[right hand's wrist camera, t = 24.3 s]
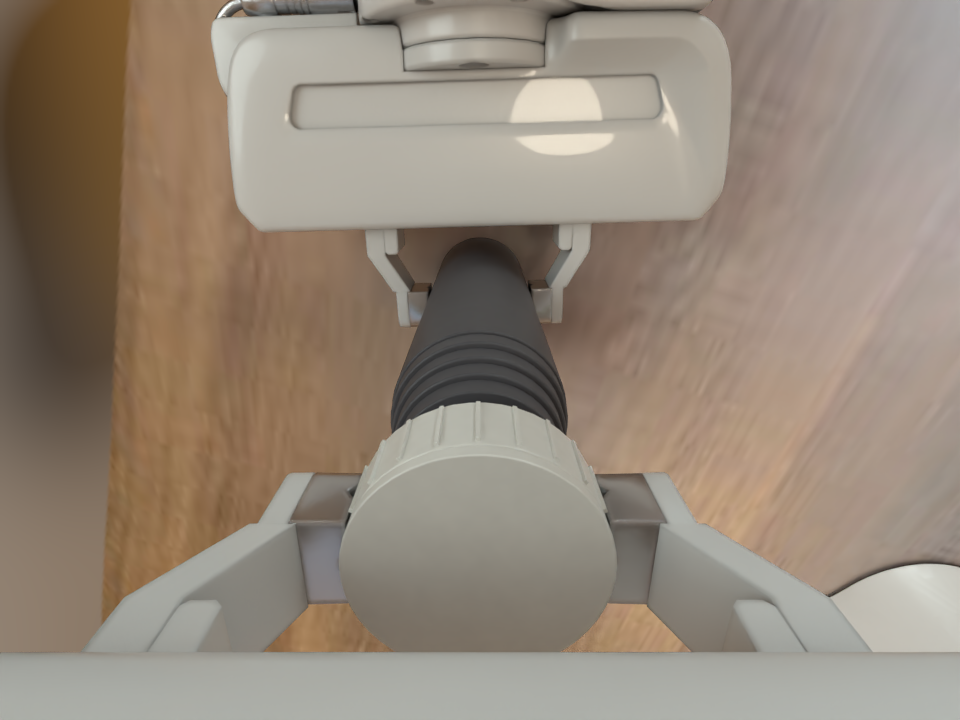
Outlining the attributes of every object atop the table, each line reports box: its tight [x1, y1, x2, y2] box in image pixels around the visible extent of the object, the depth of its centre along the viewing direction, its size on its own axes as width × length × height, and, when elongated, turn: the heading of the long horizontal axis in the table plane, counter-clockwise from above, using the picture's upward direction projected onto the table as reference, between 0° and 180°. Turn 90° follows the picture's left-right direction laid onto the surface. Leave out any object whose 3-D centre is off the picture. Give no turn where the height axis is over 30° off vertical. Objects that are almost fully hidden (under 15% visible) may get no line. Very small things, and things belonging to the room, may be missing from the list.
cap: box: [339, 401, 617, 652], centre depth 10 cm, size 5×5×2 cm
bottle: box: [391, 238, 568, 435], centre depth 19 cm, size 5×5×22 cm
